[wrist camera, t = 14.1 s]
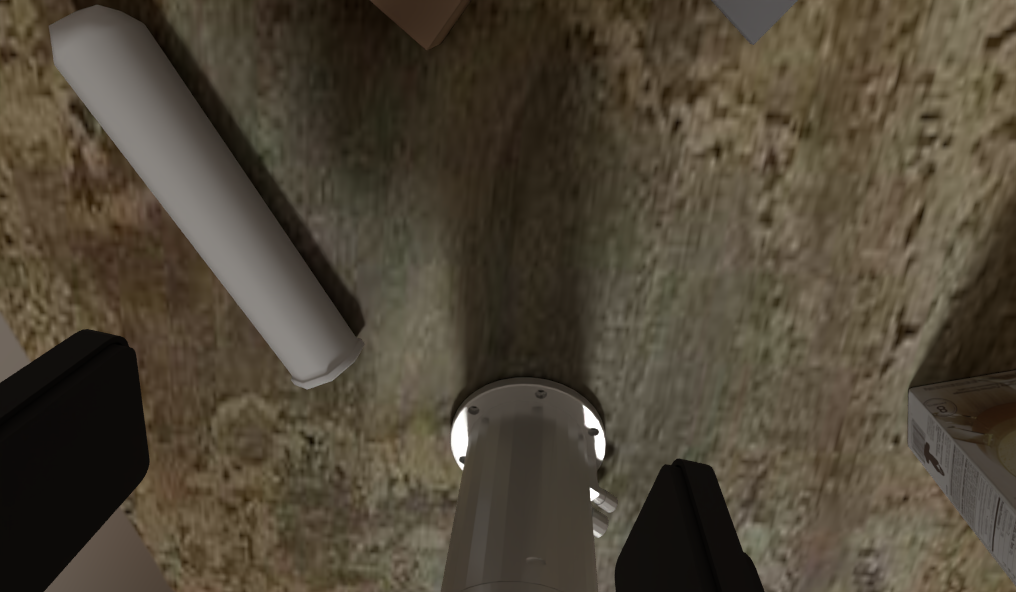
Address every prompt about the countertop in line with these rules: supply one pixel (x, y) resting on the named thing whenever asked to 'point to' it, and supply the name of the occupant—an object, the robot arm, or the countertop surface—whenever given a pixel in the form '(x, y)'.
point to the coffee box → (972, 453)
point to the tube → (202, 187)
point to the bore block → (424, 17)
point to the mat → (753, 15)
